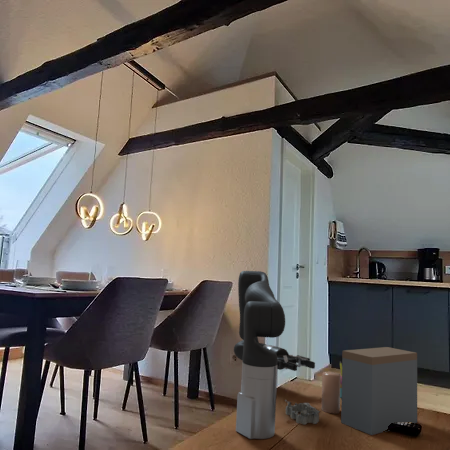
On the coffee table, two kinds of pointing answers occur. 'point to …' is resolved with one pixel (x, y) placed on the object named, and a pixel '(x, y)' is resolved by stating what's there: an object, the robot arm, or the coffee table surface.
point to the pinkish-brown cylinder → (331, 392)
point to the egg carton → (303, 413)
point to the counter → (378, 388)
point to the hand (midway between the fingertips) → (305, 366)
